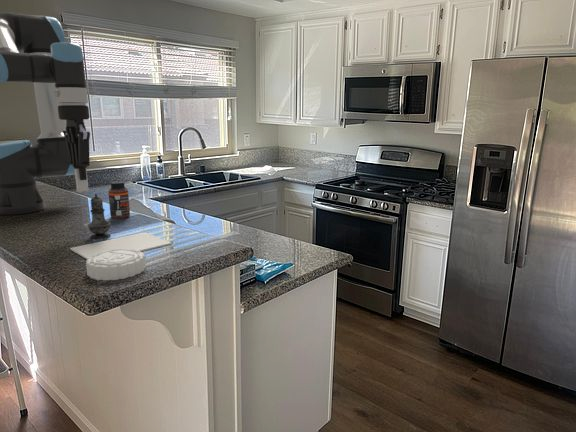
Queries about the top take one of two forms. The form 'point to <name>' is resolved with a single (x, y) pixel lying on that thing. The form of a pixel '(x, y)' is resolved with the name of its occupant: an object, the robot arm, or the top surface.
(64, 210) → the top surface
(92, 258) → the mooncake
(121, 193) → the supplement bottle
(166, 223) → the top surface
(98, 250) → the board
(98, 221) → the salt shaker
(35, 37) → the robot arm
